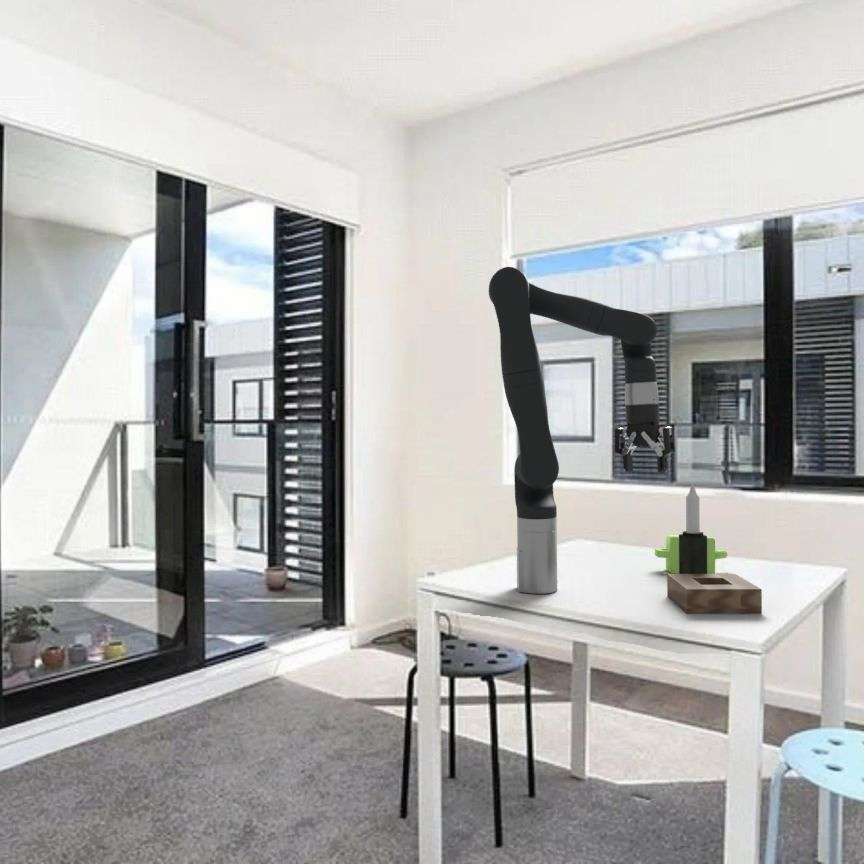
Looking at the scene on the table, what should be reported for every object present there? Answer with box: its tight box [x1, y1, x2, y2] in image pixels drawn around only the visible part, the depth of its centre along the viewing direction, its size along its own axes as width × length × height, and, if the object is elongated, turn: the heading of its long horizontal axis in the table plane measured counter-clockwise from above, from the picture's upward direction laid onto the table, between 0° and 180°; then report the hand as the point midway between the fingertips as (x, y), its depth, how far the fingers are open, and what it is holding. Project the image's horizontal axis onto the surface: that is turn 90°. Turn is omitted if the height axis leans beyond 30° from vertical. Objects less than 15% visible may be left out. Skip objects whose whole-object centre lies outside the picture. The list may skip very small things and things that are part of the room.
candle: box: [678, 482, 708, 574], centre depth 172 cm, size 5×5×25 cm
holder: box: [666, 573, 763, 615], centre depth 159 cm, size 15×15×5 cm
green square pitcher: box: [654, 534, 728, 574], centre depth 193 cm, size 18×10×10 cm, turn 84°
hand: (645, 472), depth 172 cm, fingers open, 8 cm apart
